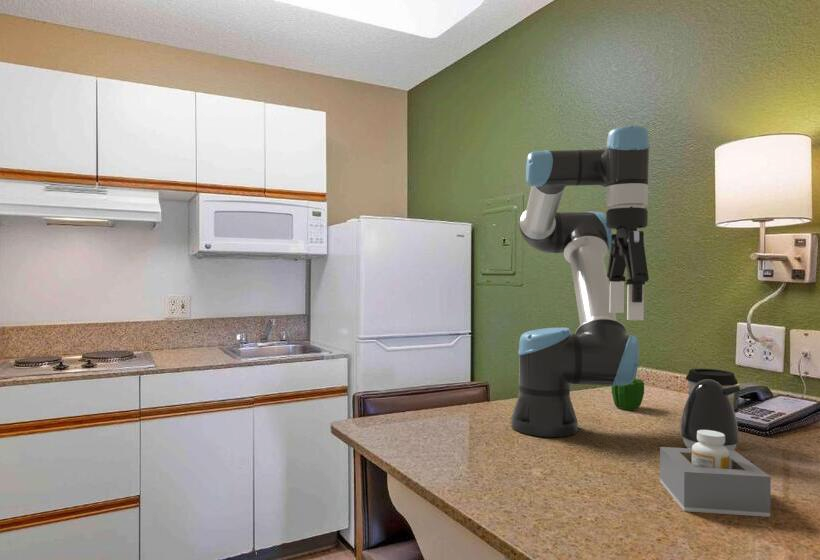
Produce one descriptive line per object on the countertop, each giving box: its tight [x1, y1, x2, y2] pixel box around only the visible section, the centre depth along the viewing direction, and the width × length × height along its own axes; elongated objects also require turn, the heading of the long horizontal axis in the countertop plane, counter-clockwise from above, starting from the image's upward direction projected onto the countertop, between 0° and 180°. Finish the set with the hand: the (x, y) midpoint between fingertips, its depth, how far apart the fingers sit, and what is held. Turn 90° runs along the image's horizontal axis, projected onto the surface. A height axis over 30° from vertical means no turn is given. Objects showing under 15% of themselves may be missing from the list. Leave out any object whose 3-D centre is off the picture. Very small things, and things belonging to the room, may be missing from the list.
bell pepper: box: [611, 378, 645, 411], centre depth 144 cm, size 8×8×10 cm
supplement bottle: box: [691, 430, 729, 469], centre depth 86 cm, size 5×5×10 cm
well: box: [659, 446, 772, 518], centre depth 86 cm, size 12×12×6 cm
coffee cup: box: [685, 368, 739, 407], centre depth 116 cm, size 10×10×15 cm
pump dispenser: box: [679, 379, 741, 451], centre depth 106 cm, size 10×10×15 cm
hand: (625, 316), depth 105 cm, fingers open, 13 cm apart
